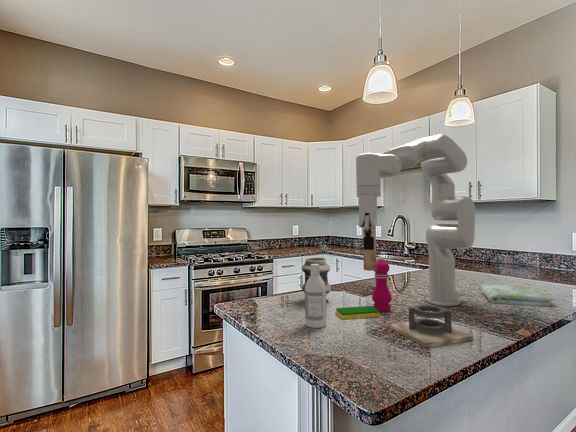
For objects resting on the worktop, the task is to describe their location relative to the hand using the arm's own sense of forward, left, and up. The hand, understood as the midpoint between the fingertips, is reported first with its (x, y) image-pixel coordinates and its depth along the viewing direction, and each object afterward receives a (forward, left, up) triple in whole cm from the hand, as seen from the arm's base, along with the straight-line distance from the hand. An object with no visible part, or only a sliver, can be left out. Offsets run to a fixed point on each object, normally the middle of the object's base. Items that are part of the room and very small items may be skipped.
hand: (369, 248), depth 105 cm
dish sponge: (-2, -12, -26) cm, 29 cm away
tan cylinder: (0, 0, -7) cm, 7 cm away
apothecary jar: (+5, -34, -25) cm, 43 cm away
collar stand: (-13, +12, -25) cm, 31 cm away
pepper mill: (-14, -15, -25) cm, 33 cm away
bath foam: (+16, -7, -25) cm, 31 cm away
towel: (-72, -9, -26) cm, 77 cm away
